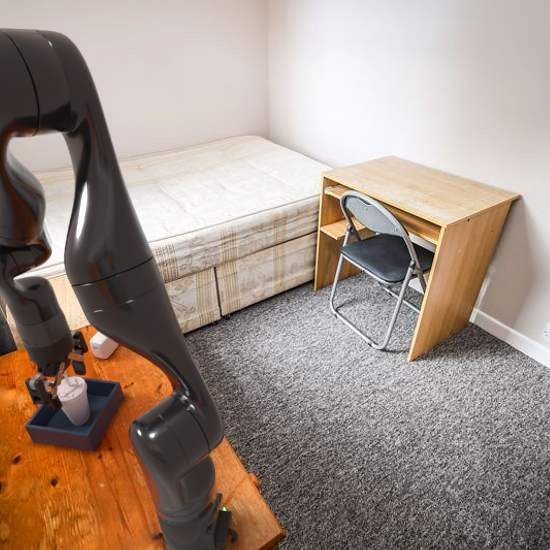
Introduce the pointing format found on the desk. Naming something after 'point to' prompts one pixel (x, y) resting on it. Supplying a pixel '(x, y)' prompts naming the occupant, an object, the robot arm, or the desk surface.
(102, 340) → the power adapter
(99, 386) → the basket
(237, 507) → the desk surface
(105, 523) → the desk surface
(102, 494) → the desk surface
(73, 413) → the smoothie
